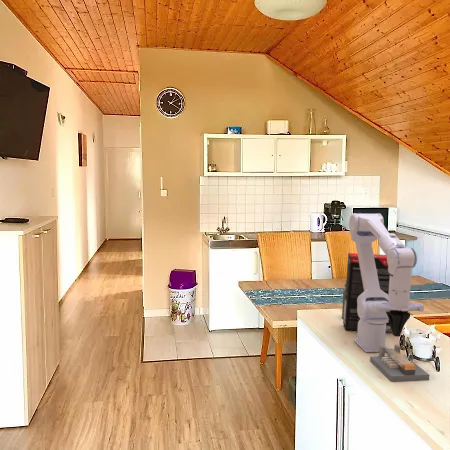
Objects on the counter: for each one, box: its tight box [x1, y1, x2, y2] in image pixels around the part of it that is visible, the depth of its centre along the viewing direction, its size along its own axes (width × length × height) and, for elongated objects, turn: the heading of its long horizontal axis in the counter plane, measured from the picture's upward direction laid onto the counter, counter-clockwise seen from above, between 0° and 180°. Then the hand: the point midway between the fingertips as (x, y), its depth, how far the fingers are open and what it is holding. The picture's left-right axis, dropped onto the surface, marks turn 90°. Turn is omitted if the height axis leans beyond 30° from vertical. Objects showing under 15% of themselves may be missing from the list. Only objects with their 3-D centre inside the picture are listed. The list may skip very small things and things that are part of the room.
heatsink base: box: [369, 344, 430, 383], centre depth 131 cm, size 13×11×5 cm
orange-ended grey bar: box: [385, 348, 415, 370], centre depth 131 cm, size 12×3×1 cm, turn 8°
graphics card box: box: [342, 252, 392, 334], centre depth 162 cm, size 17×7×27 cm, turn 84°
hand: (396, 335), depth 133 cm, fingers closed
